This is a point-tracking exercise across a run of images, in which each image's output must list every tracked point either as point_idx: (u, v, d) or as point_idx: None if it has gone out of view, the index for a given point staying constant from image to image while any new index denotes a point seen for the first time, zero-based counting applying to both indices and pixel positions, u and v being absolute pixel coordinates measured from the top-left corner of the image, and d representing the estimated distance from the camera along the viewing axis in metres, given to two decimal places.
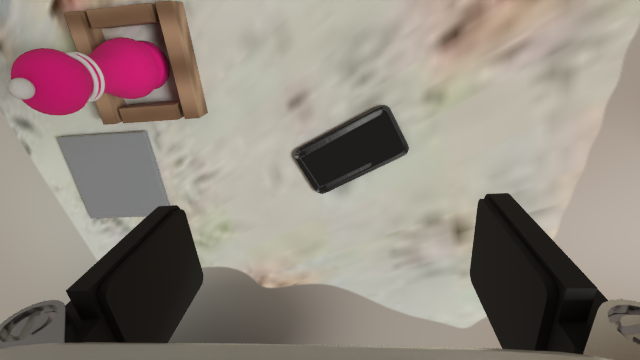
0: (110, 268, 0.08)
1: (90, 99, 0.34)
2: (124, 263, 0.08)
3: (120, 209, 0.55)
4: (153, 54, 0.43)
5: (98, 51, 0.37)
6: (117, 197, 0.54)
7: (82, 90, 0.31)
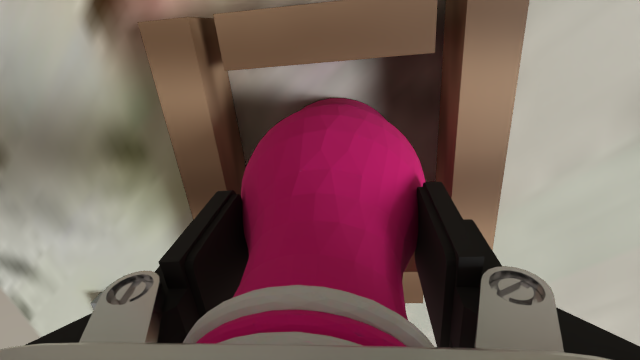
0: (192, 243, 0.08)
1: None
2: (202, 239, 0.09)
3: None
4: None
5: (315, 188, 0.09)
6: None
7: None
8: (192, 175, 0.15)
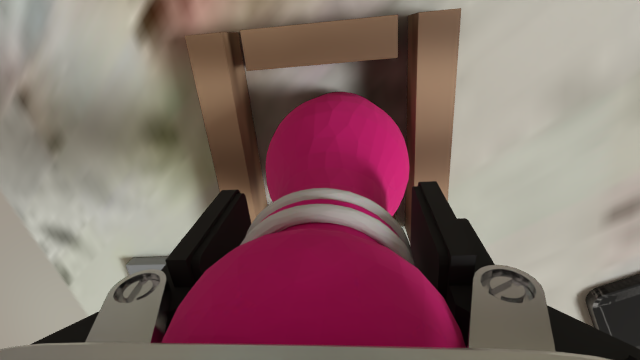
0: (198, 242, 0.08)
1: None
2: (208, 238, 0.09)
3: None
4: None
5: (325, 148, 0.13)
6: None
7: None
8: (219, 150, 0.20)
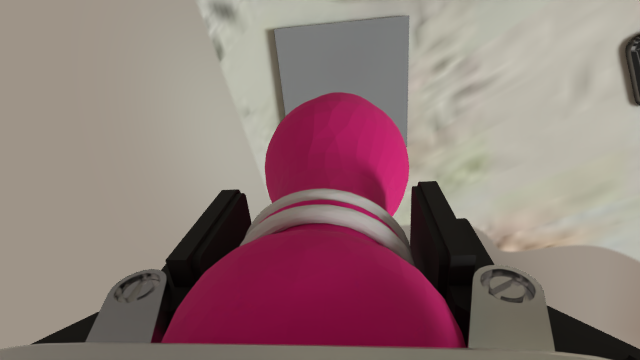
0: (199, 242, 0.08)
1: None
2: (208, 238, 0.09)
3: None
4: None
5: (324, 149, 0.13)
6: None
7: None
8: None
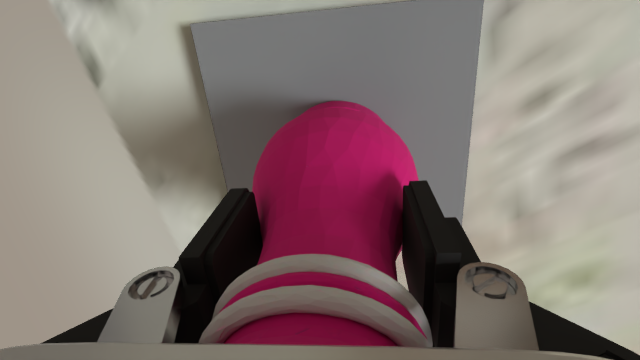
0: (210, 239, 0.08)
1: None
2: (219, 236, 0.09)
3: None
4: None
5: (320, 181, 0.10)
6: None
7: None
8: None
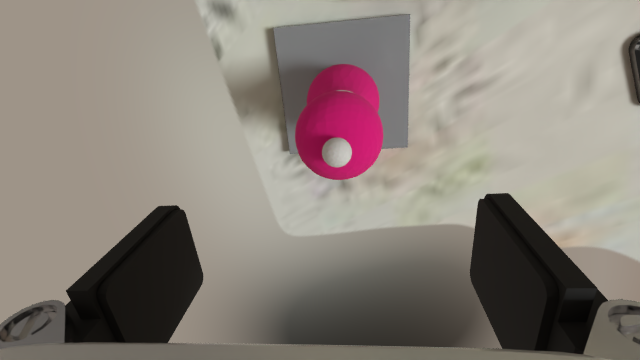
0: (110, 268, 0.08)
1: None
2: (124, 263, 0.08)
3: None
4: None
5: (338, 84, 0.29)
6: None
7: (381, 147, 0.23)
8: None
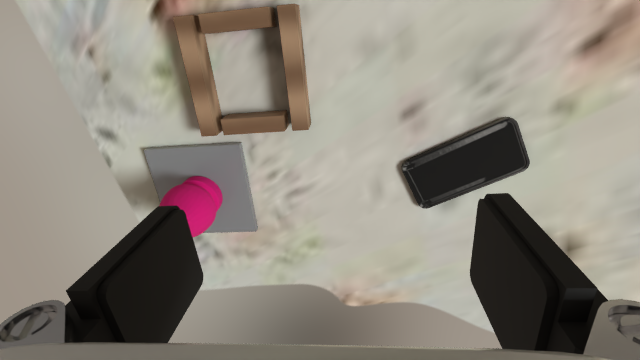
0: (110, 268, 0.08)
1: None
2: (124, 263, 0.08)
3: None
4: (210, 191, 0.47)
5: None
6: None
7: None
8: (191, 74, 0.40)
